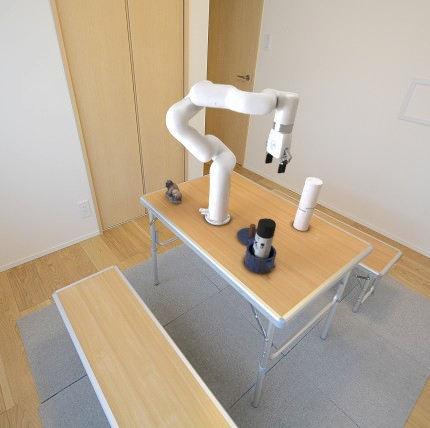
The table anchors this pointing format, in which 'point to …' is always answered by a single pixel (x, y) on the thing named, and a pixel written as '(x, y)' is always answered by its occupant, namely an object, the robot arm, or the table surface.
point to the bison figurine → (173, 192)
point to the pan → (256, 263)
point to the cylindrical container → (307, 203)
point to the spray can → (263, 238)
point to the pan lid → (247, 234)
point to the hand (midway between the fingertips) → (274, 167)
